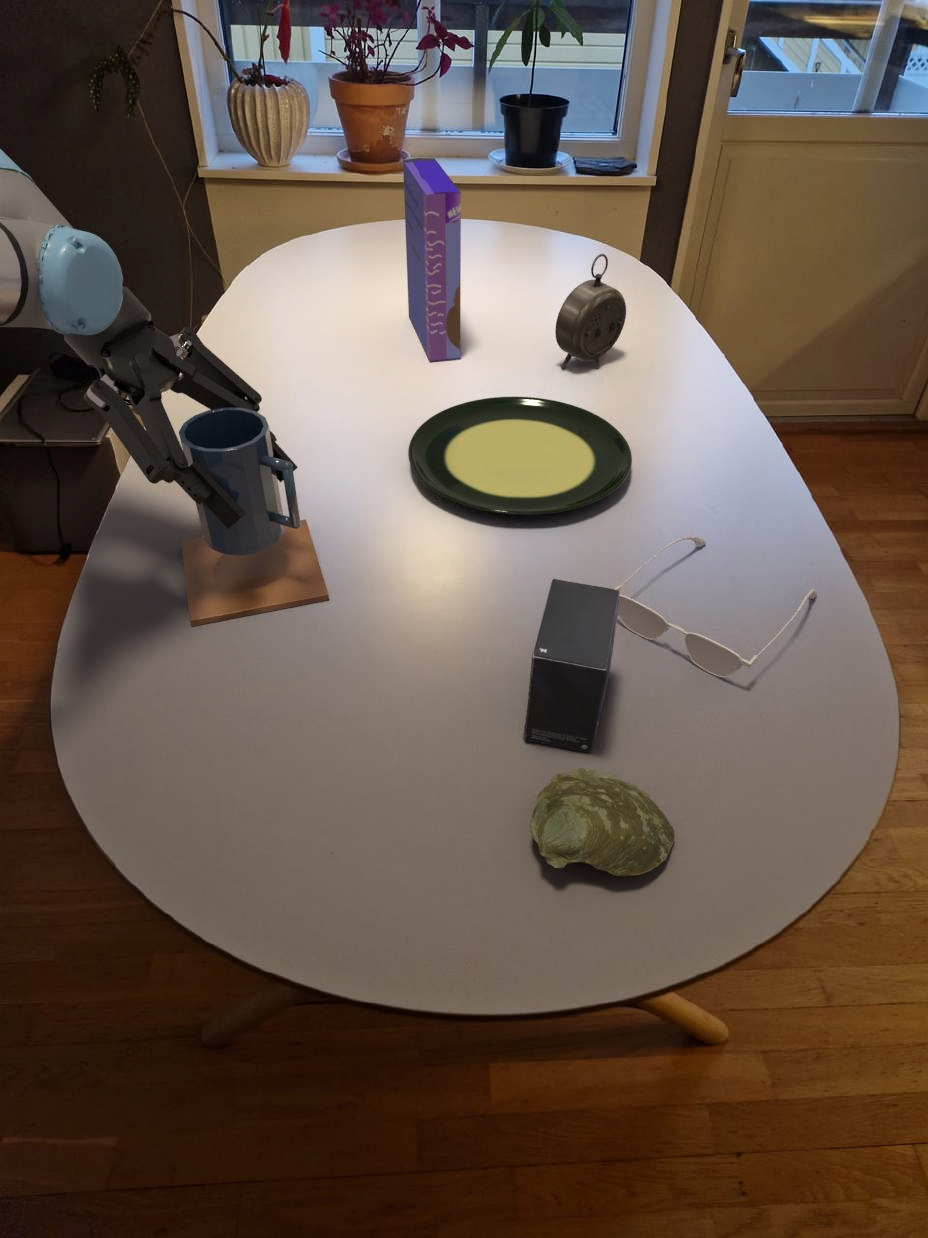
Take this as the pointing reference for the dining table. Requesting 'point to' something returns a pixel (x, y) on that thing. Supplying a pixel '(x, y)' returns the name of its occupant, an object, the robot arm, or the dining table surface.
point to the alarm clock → (590, 319)
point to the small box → (571, 665)
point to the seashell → (600, 824)
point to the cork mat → (252, 578)
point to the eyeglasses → (698, 646)
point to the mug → (241, 478)
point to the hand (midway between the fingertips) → (263, 497)
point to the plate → (519, 455)
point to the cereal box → (433, 257)
